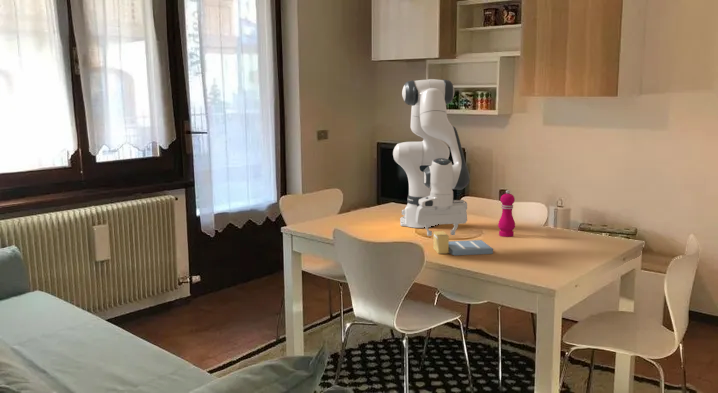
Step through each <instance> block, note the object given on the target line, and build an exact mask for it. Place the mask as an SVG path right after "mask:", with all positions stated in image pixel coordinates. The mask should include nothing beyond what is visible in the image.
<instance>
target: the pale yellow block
mask: <svg viewBox="0 0 718 393" xmlns="http://www.w3.org/2000/svg"><path fill="white" fill-rule="evenodd" d="M432 234H433V235H432V239H433V247H432V248H433V250H435V252H436V253H437V254H438V255H439V254H440V255H442V254H449V252H448V248H449V240H450V239H449V238H450V237H449V235H448V234H447V233H446V232H445V231H444V230H441V231H439V230H438V231H437V230H436V231H433V233H432Z"/></svg>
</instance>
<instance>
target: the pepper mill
mask: <svg viewBox="0 0 718 393" xmlns="http://www.w3.org/2000/svg"><path fill="white" fill-rule="evenodd" d="M515 199H516V198H515V196H514V194H512V193H511V190H509V189H506V190H505V193H504V194H502V195H501V196H500V199H499V200H500V203H501V207H500V208H501V209H502V212H501V215H500V218H499V220H498V224H497V227H498V229H499V232H498V236H500V237H503V238H511V237H512V238H513V237H514V235H515V233H514V232H515V231H514V230H515V228H516V223H515V218H514V216H513V209H514V205H513V204H514V203H515Z"/></svg>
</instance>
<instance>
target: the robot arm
mask: <svg viewBox="0 0 718 393" xmlns="http://www.w3.org/2000/svg"><path fill="white" fill-rule="evenodd" d="M401 96H402V99H403V102H404V103H405V104H406V105H409V106H411V108H410V110H411V111H410V126H409V127H410V130H411V132H412V133H413V134H415V135H416V136H418V137H420V138H421V139H422V141H404V142H399V143H397V144H396V145H395V146H394V148H393V150H392V156H393V160H394V162H395V163H396V164H398V165H399V166H400V167H401V168H402V170H403V171H404V172H405V174H406V177H407V181H408V194H407V201H406V202H407V204H406V206H405V208H404V209H401V215H402V216H401V217H400V218H399V221H400V222H399V223H400V226H401V227H409V228H415V229H425V230H426V235H427V237H433V235H432V234H433V232H432V230H430V228H432V227H431V226H434V227H436V226H439V225H453V227H452V229H450V230H449V231H450V236H456V232H457V229H458V228H459V225H460V224H466V223H467V222H468V213H467V209H468V202H467V201H465V200H464V199H454V191H453V190H460V191H461V190H462V191H463V189H464V188H466V187H467V186H468V185H469V184H470V180H471V179H470V172H469V169H468V166H467V164H466V159H465V155H464V151H463V147H462V145H461V140H460V136H459V134H458V130H457V128H456V127H455V126H454V125H452V124H451V122H450V120H449V119H448V112H447V104H448V105H449V104H450V103H452V101H453V100H454V96H455V87H454V83H452V81H451V80H450V79H449V80H448V79H436V78H435V79H434V78H428V79H420V80H418V79H417V80H413V79H412V80H408V81H405V83H404V84H403V87H402V91H401ZM450 152H451V157H452V160H450V159H449V157H450ZM452 162H453V163H452ZM421 166H426V167H425V169H423V171H422V170H421V168H420V167H421ZM438 224H439V225H438ZM435 225H436V226H435ZM424 227H425V228H424Z"/></svg>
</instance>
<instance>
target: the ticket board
mask: <svg viewBox="0 0 718 393" xmlns="http://www.w3.org/2000/svg"><path fill="white" fill-rule="evenodd" d="M493 253H494V248H493V247H491V246H490V245H489V244H487V242H485V241H483V240H482V239H479V240H478V239H476V240H475V239H473V240H456V241H455V240H454V241H449V248H448V255H452V256H453V255H454V256H470V255H471V256H472V255H493Z"/></svg>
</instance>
